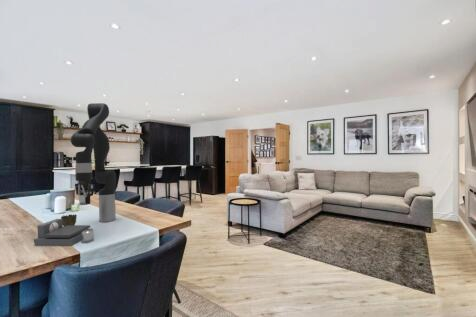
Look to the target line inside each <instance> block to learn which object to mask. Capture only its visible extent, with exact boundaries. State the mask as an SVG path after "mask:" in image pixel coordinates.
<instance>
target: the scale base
mask: <svg viewBox="0 0 476 317" xmlns="http://www.w3.org/2000/svg"><path fill="white" fill-rule="evenodd" d="M61 227H64V226H63V222H62V219H61V218H55V219H52V220H50V221H49V220H48V221H47V222H44V223H41V224H39V225H37V238H34V241H33V242H34V244H33V245H34V246H40V247H41V246H42V247H43V246H44V247H45V246H46V247H47V246H50V247H52V246H54V247H57V246H58V247H59V246H61V247H64V246H66V247H67V246H69V247H72V246H73V245H76V244H78V243H79V242H82V232H80V233H78V234H76V235H74V236H72V237H43V235H44V234H47V233H49V232H52V231H54V230H56V229H59V228H61ZM86 230H93V231H94V229H93V228H88V229H86ZM84 231H85V230H84Z"/></svg>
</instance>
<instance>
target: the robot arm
mask: <svg viewBox="0 0 476 317" xmlns="http://www.w3.org/2000/svg"><path fill="white" fill-rule="evenodd" d="M86 109H87V115H88V116H87V117H88V119H87V120H86V121H85V122H84V123H83V125H82V127H81V128H80V129H78V130H77V131H75V132H74V133H73V134H72V135H71V137H70V143H71V145H72V146H74V148H75V147H76V148H85V149H84V150H81V151H77V152H76V153H75V181H76V182H78V183H75V184H74V188H75V194H76V195H77V196H78V197H79V195H82V194H85V204H88V205H91V197H92V196H94V191H95V184H92V183H91V181H93V164H92V155H93V159H94V179H95V181H96V183H98V184H104V187H103V188H101V189H99V190H98V219H99V223H109V222H113V221H115V220H116V218H117V215H116V214H117V213H116V212H117V211H116V210H117V209H116V189H117V187H116V186H117V174H116V171H115V170H113V169H106V167H105V166H106V165H105V162H106V159H107V156H108V155H109V152H110V149H111V148H110V147H111V146H110V140H109V137H108V135H107V134H106V133H105V131H103V129H102V128H101V127H100V126H101V125H102V124H103V123H104V122H105V121H106V119H108V117H109V115H110V109H109V106H108V104H106V103H99V102H98V103H95V102H94V103H89V104H88V105H87V108H86Z"/></svg>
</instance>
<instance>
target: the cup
mask: <svg viewBox="0 0 476 317" xmlns="http://www.w3.org/2000/svg"><path fill="white" fill-rule="evenodd" d="M77 216H78V215H77V214H76V213H75V214H70V213H69V214H66V215H61V217H60V219H62V222H63V227H64V226H66V225H76V223H77Z"/></svg>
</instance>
